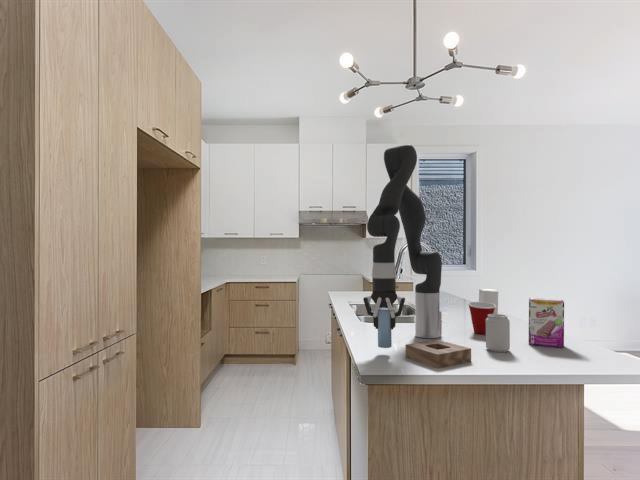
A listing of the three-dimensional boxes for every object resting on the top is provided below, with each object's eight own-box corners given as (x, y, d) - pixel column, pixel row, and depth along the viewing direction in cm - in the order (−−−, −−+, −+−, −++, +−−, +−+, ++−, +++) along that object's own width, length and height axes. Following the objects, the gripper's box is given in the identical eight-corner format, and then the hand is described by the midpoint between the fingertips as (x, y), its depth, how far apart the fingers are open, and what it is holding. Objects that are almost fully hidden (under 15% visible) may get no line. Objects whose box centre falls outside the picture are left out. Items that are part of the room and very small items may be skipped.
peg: (385, 344, 141) (385, 308, 141) (394, 346, 138) (394, 309, 138) (375, 345, 139) (374, 309, 139) (383, 348, 135) (383, 311, 135)
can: (508, 348, 146) (508, 313, 146) (510, 353, 139) (510, 317, 139) (485, 346, 149) (485, 312, 149) (486, 352, 141) (486, 316, 142)
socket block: (437, 351, 142) (437, 339, 142) (471, 361, 130) (471, 348, 130) (405, 357, 135) (405, 344, 135) (438, 368, 123) (438, 354, 123)
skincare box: (478, 322, 195) (478, 288, 196) (493, 322, 195) (492, 288, 195) (483, 325, 187) (483, 290, 187) (498, 325, 186) (498, 290, 187)
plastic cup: (475, 336, 165) (475, 305, 165) (463, 330, 176) (463, 301, 176) (501, 335, 166) (501, 305, 166) (488, 330, 177) (488, 301, 177)
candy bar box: (528, 345, 151) (528, 299, 151) (528, 342, 155) (528, 297, 156) (564, 348, 146) (564, 300, 146) (563, 345, 151) (563, 299, 151)
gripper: (406, 275, 140) (407, 327, 140) (364, 275, 144) (364, 325, 144) (405, 277, 133) (406, 332, 133) (360, 277, 137) (361, 330, 137)
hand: (384, 328), depth 138 cm, fingers closed on peg, 4 cm apart
